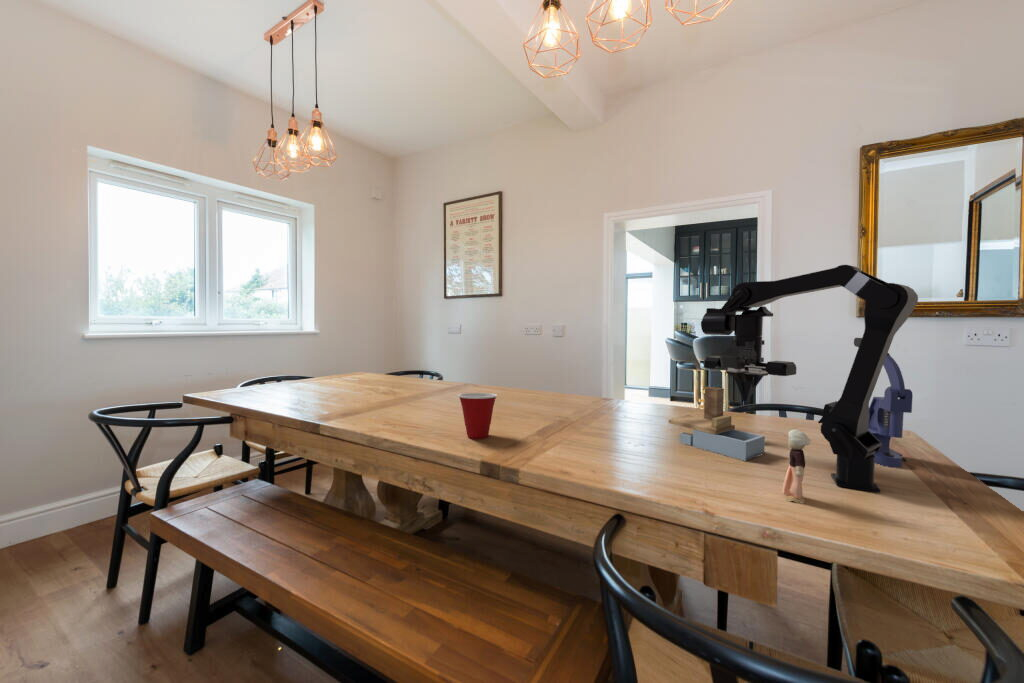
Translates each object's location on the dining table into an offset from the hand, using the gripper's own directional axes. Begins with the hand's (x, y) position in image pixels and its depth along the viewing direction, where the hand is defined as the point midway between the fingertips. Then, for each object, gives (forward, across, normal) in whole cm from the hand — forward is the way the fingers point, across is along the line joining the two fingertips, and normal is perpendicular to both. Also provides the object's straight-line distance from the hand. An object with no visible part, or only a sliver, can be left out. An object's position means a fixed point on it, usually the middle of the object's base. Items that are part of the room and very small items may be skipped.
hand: (745, 401), depth 96 cm
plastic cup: (+13, -49, -46) cm, 68 cm away
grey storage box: (+13, -6, 0) cm, 14 cm away
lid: (+9, -11, 0) cm, 14 cm away
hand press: (+13, +18, +25) cm, 33 cm away
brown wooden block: (+13, -13, +9) cm, 20 cm away
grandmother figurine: (+13, +18, -18) cm, 28 cm away
